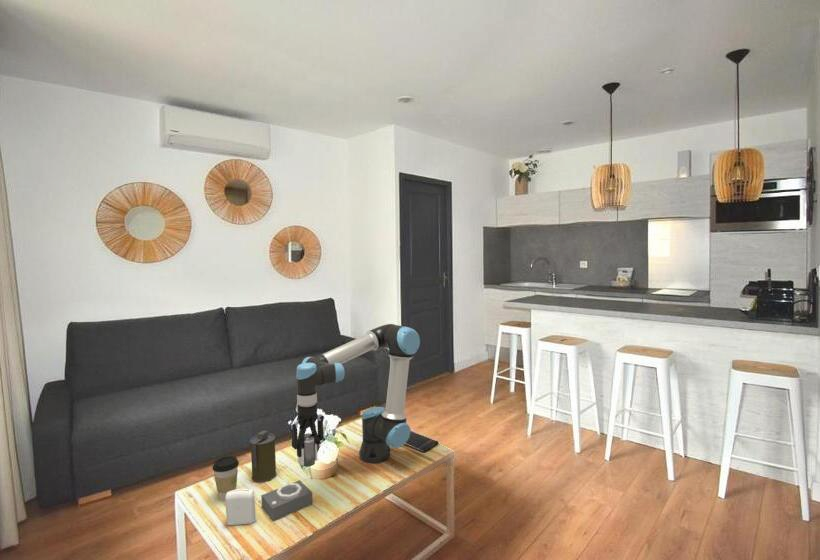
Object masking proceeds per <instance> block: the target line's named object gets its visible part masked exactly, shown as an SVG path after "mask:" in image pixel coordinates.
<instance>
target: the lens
mask: <svg viewBox="0 0 820 560" xmlns="http://www.w3.org/2000/svg"><path fill="white" fill-rule="evenodd" d="M302 448H303V449H304V465H303V466H302V467H306V468H308V467H309V468H310V467H312V466H315V464H316V461H315V437H314V435H313V434H312V432H310V433H305V435H304V440H303V445H302Z"/></svg>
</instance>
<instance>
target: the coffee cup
mask: <svg viewBox="0 0 820 560" xmlns="http://www.w3.org/2000/svg"><path fill="white" fill-rule="evenodd" d="M239 464H240V462H239V459H238V458H237V457H236V456H234V455H226V456H222V457H220V458H218V459H216V460H215V461H214V463H213V465H212V471H213V472H214V480H215V488H216V492H217V495H218V499H219V501H220V502H225V498H226V494H227V492H229V491H232V490H236V489H237V487H238V486H237V484H238V475H239V474H238V471H239V470H238V469H239V468H238V466H239Z"/></svg>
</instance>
